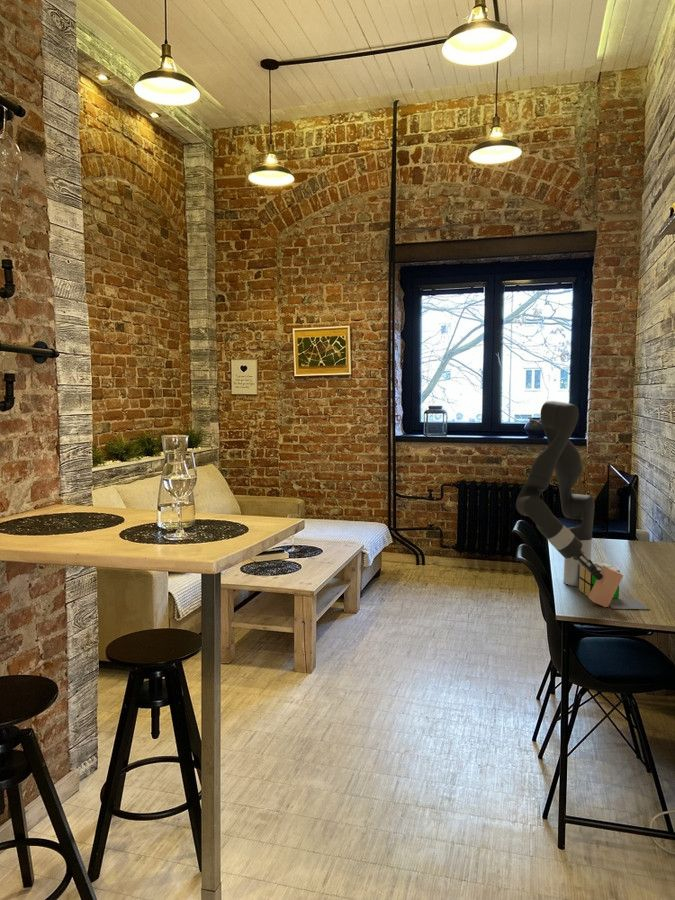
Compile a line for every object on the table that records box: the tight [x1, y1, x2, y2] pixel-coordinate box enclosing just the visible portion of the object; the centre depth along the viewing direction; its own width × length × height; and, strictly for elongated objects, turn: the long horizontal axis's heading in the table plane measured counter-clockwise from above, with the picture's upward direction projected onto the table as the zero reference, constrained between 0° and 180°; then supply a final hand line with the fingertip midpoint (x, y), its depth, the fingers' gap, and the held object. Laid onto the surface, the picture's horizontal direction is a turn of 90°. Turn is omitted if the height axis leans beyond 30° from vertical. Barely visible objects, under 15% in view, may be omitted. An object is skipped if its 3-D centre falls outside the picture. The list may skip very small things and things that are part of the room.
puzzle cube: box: [578, 562, 621, 599], centre depth 224 cm, size 10×10×10 cm
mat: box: [608, 598, 651, 611], centre depth 214 cm, size 10×12×1 cm
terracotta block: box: [587, 565, 624, 608], centre depth 212 cm, size 5×5×12 cm
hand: (600, 577), depth 212 cm, fingers closed
